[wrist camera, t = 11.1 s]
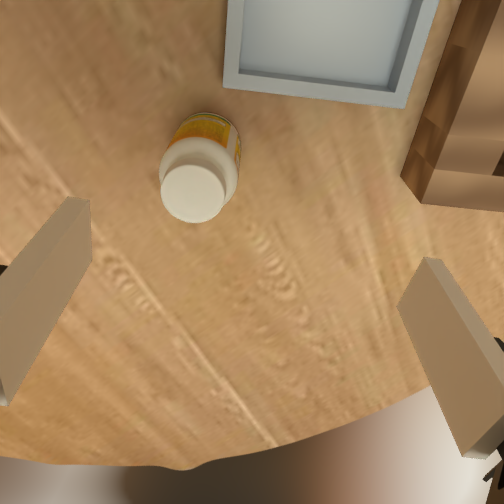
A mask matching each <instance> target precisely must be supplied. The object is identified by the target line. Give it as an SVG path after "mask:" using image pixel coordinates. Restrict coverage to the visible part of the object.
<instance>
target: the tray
mask: <svg viewBox="0 0 504 504" xmlns="http://www.w3.org/2000/svg"><path fill="white" fill-rule="evenodd" d="M438 3H439V0H228V11H227V26H226V42H225V57H224V73H223V88H231V89H239V90H248V91H256V92H264V93H273V94H281V95H290V96H298V97H306V98H315V99H323V100H332V101H340V102H349V103H357V104H365V105H374V106H382V107H391V108H399V109H404V108H405V105H406V102H407V99H408V96H409V93H410V90H411V87H412V84H413V81H414V77H415V74H416V71H417V68H418V65H419V62H420V59H421V56H422V53H423V50H424V46H425V43H426V40H427V37H428V34H429V31H430V28H431V25H432V22H433V19H434V15H435V12H436V9H437V6H438Z"/></svg>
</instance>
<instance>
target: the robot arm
mask: <svg viewBox="0 0 504 504" xmlns="http://www.w3.org/2000/svg"><path fill="white" fill-rule="evenodd" d="M91 261H92V241H91V220H90V200H86V199H80V198H74V197H67V198H66V199H65V201H64V202H63V203H62V204H61V205H60V206H59V208H58V209H57V210H56V211H55V212H54V213H53V215H52V216H51V217H50V218H49V219H48V220H47V222H46V223H45V224H44V225H43V226H42V228H41V229H40V230H39V231H38V232H37V233H36V235H35V236H34V237H33V238H32V239H31V240H30V242H29V243H28V244H27V245H26V246H25V247H24V249H23V250H22V251H21V252H20V253H19V254H18V256H17V257H16V258H15V259H14V260H13V261H12V263H11V264H10V265H9V266H5V265H0V405H2V406H9V404H10V402H11V401H12V399H13V397H14V395H15V394H16V392H17V390H18V388H19V387H20V385H21V383H22V381H23V380H24V378H25V376H26V374H27V373H28V371H29V369H30V368H31V366H32V364H33V362H34V361H35V359H36V357H37V355H38V354H39V352H40V350H41V348H42V347H43V345H44V343H45V341H46V340H47V338H48V336H49V334H50V333H51V331H52V329H53V327H54V326H55V324H56V322H57V320H58V319H59V317H60V315H61V314H62V312H63V310H64V308H65V307H66V305H67V303H68V301H69V300H70V298H71V296H72V294H73V293H74V291H75V289H76V287H77V286H78V284H79V282H80V280H81V279H82V277H83V275H84V273H85V272H86V270H87V268H88V267H89V265H90V263H91ZM396 307H397V309H398V311H399V313H400V316H401V318H402V320H403V323H404V325H405V327H406V330H407V332H408V334H409V336H410V339H411V341H412V343H413V346H414V348H415V350H416V352H417V355H418V357H419V359H420V362H421V364H422V366H423V368H424V371H425V373H426V375H427V378H428V380H429V382H430V384H431V387H432V389H433V391H434V394H435V396H436V398H437V400H438V402H439V405H440V407H441V410H442V412H443V414H444V416H445V419H446V421H447V423H448V426H449V427H450V430H451V432H452V435H453V437H454V439H455V441H456V444H457V446H458V448H459V451H460V453H461V455H462V457H468V458H478V459H486V458H487V457H488V456H489V455H490V454H491V453H493V452H494V451H495V450H496V449H497V450H498V452H499V454H500V456H501V458H502V460H501V461H500V462H499V463H498V464H497V465H496V466H495V467H494V468H493V469H492V470H491V471H489V473H487V474H486V475H485V477H484V478H483V480H484V481H486V482H487V481H488V480H489V479H490V478H493V480H492V483H491V487H490V490H489V494H488V497H487V501H486V504H504V343H503V342H502V341H501V340H500V339H499V338H495V337H493V336H492V334H491V333H490V331H489V330H488V328H487V327H486V325H485V324H484V322H483V321H482V319H481V318H480V316H479V315H478V313H477V312H476V311H475V309H474V308H473V306H472V305H471V303H470V302H469V300H468V299H467V297H466V296H465V294H464V293H463V291H462V290H461V288H460V287H459V285H458V284H457V282H456V281H455V279H454V278H453V276H452V275H451V273H450V272H449V270H448V269H447V267H446V266H445V264H444V263H443V261H442V260H440V259H434V258H428V257H423V259H422V261H421V263H420V265H419V267H418V268H417V270H416V272H415V274H414V276H413V277H412V279H411V281H410V283H409V285H408V286H407V288H406V290H405V292H404V294H403V295H402V297H401V299H400V301H399V303H398V305H397V306H396Z"/></svg>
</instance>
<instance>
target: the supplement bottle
mask: <svg viewBox="0 0 504 504" xmlns="http://www.w3.org/2000/svg"><path fill="white" fill-rule="evenodd" d="M240 157H241V141H240V137H239V134H238V132H237V130H236V129H235V127H234V126H233V125H232V124H231V123H230V122H229V121H228V120H227V119H226V118H224V117H222V116H220V115H217V114H213V113H207V112H205V113H197V114H194V115H192V116H190V117H188V118H187V119H186V120H184V121H183V122H182V124H181V125H180V126H179V128H178V130H177V131H176V133H175V135H174V137H173V139H172V140H171V142H170V144H169V146H168V148H167V150H166V151H165V153H164V155H163V157H162V159H161V162H160V166H159V179H160V183H161V190H160V193H161V199H162V202H163V204H164V206H165V208H166V209H167V210H168V211H169V212H170V213H171V214H172V215H173V216H174V217H176V218H178V219H180V220H182V221H185V222H189V223H201V222H205V221H208V220H210V219H212V218H213V217H215V216H216V215H217V214H218V213H219V212H220V210H221V209H222V207H223V206H224V205H225V204H226V203H227V202H228V201H229V200H230V199H231V198H232V196H233V194H234V192H235V190H236V187H237V183H238V175H239V166H240Z"/></svg>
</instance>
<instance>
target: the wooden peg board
mask: <svg viewBox="0 0 504 504" xmlns="http://www.w3.org/2000/svg"><path fill="white" fill-rule="evenodd" d="M400 177H401V178H402V179H403V181H404V182H405V183H406V185H407V186H408V187H409V189H410V190H411V191H412V193H413V194H414V195H415V197H416V198H417V199H418V201H419V202H420V203H421V204H430V205H439V206H449V207H458V208H468V209H477V210H487V211H496V212H504V0H462V2H461V4H460V7H459V10H458V13H457V16H456V19H455V22H454V24H453V27H452V30H451V33H450V36H449V39H448V42H447V44H446V47H445V50H444V53H443V56H442V59H441V62H440V64H439V67H438V70H437V73H436V76H435V79H434V82H433V84H432V87H431V90H430V93H429V96H428V99H427V102H426V104H425V107H424V110H423V113H422V116H421V119H420V122H419V124H418V127H417V130H416V133H415V136H414V139H413V142H412V144H411V147H410V150H409V153H408V156H407V159H406V162H405V164H404V167H403V170H402V173H401V176H400Z"/></svg>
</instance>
